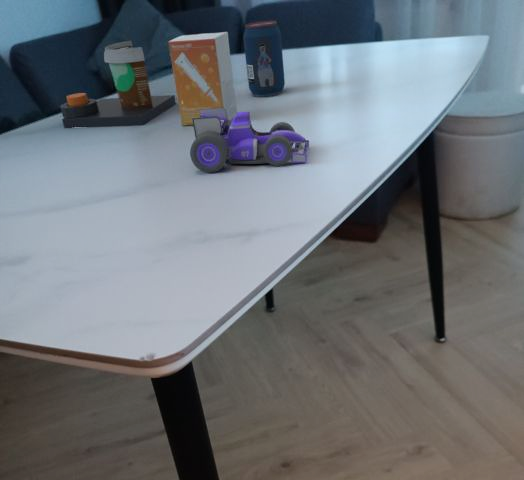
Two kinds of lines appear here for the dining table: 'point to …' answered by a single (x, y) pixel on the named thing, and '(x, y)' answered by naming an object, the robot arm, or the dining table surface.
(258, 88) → the soda can
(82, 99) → the button
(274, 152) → the toy race car
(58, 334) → the dining table surface
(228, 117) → the small box
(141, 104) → the food container
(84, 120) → the scale
